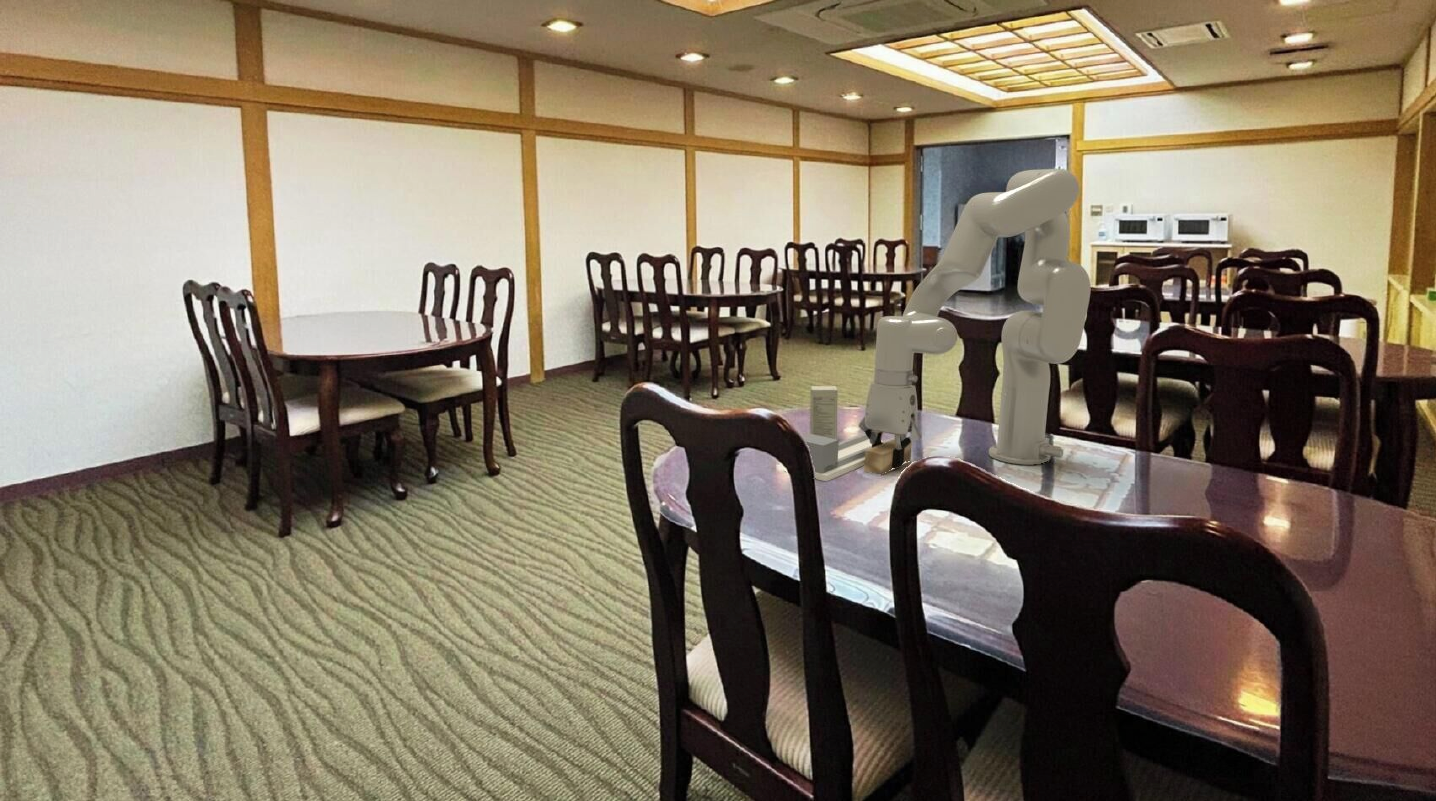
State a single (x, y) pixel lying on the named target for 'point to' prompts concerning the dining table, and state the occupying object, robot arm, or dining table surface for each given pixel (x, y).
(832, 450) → the board
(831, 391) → the skincare box
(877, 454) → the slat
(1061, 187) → the robot arm
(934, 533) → the dining table surface
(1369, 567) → the dining table surface
